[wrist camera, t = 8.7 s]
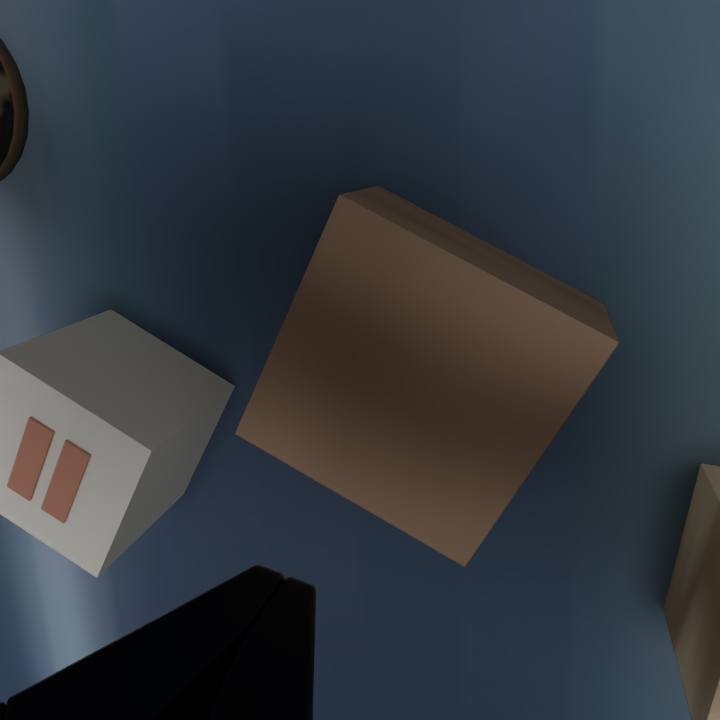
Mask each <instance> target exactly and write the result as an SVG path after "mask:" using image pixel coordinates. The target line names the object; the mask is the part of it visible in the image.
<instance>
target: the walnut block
mask: <svg viewBox="0 0 720 720" xmlns="http://www.w3.org/2000/svg"><path fill="white" fill-rule="evenodd" d="M618 344H619V341H618V338H617V335H616V333H615V330H614V327H613V325H612V322H611V320H610V317H609V314H608V312H607V309H606V306H605V304H604V303H602V302H600V301H598V300H596V299H594V298H592V297H590V296H588V295H586V294H584V293H583V292H581V291H579V290H577V289H575V288H573V287H571V286H569V285H567V284H565V283H564V282H562V281H560V280H558V279H556V278H554V277H552V276H550V275H548V274H546V273H544V272H543V271H541V270H539V269H537V268H535V267H533V266H531V265H529V264H527V263H525V262H523V261H522V260H520V259H518V258H516V257H514V256H512V255H510V254H508V253H506V252H504V251H502V250H501V249H499V248H497V247H495V246H493V245H491V244H489V243H487V242H485V241H483V240H481V239H480V238H478V237H476V236H474V235H472V234H470V233H468V232H466V231H464V230H462V229H460V228H459V227H457V226H455V225H453V224H451V223H449V222H447V221H445V220H443V219H441V218H439V217H438V216H436V215H434V214H432V213H430V212H428V211H426V210H424V209H422V208H420V207H418V206H417V205H415V204H413V203H411V202H409V201H407V200H405V199H403V198H401V197H399V196H397V195H396V194H394V193H392V192H390V191H388V190H386V189H384V188H382V187H380V186H375V187H370V188H366V189H361V190H357V191H352V192H348V193H343V194H339V196H338V198H337V201H336V203H335V205H334V208H333V210H332V212H331V214H330V217H329V219H328V221H327V224H326V226H325V228H324V231H323V233H322V235H321V237H320V240H319V242H318V244H317V247H316V249H315V251H314V253H313V256H312V258H311V260H310V263H309V265H308V267H307V270H306V272H305V274H304V276H303V279H302V281H301V283H300V286H299V288H298V290H297V293H296V295H295V297H294V299H293V302H292V304H291V306H290V309H289V311H288V313H287V316H286V318H285V320H284V322H283V325H282V327H281V329H280V332H279V334H278V336H277V338H276V341H275V343H274V345H273V348H272V350H271V352H270V355H269V357H268V359H267V361H266V364H265V366H264V368H263V371H262V373H261V375H260V378H259V380H258V382H257V384H256V387H255V389H254V391H253V394H252V396H251V398H250V401H249V403H248V405H247V407H246V410H245V412H244V414H243V417H242V419H241V421H240V423H239V426H238V428H237V430H236V433H235V434H236V435H238V436H240V437H241V438H243V439H245V440H247V441H248V442H250V443H252V444H253V445H255V446H257V447H259V448H260V449H262V450H264V451H266V452H267V453H269V454H271V455H272V456H274V457H276V458H278V459H279V460H281V461H283V462H285V463H286V464H288V465H290V466H291V467H293V468H295V469H297V470H298V471H300V472H302V473H304V474H305V475H307V476H309V477H310V478H312V479H314V480H316V481H317V482H319V483H321V484H323V485H324V486H326V487H328V488H329V489H331V490H333V491H335V492H336V493H338V494H340V495H341V496H343V497H345V498H347V499H348V500H350V501H352V502H354V503H355V504H357V505H359V506H360V507H362V508H364V509H366V510H367V511H369V512H371V513H373V514H374V515H376V516H378V517H379V518H381V519H383V520H385V521H386V522H388V523H390V524H392V525H393V526H395V527H397V528H398V529H400V530H402V531H404V532H405V533H407V534H409V535H411V536H412V537H414V538H416V539H417V540H419V541H421V542H423V543H424V544H426V545H428V546H430V547H431V548H433V549H435V550H436V551H438V552H440V553H442V554H443V555H445V556H447V557H449V558H450V559H452V560H454V561H455V562H457V563H459V564H461V565H462V566H464V567H465V566H466V565H467V563H468V562H469V560H470V559H471V557H472V556H473V554H474V553H475V551H476V550H477V549H478V547H479V546H480V544H481V543H482V541H483V540H484V538H485V537H486V535H487V534H488V533H489V531H490V530H491V528H492V527H493V525H494V524H495V522H496V521H497V519H498V518H499V517H500V515H501V514H502V512H503V511H504V509H505V508H506V506H507V505H508V504H509V502H510V501H511V499H512V498H513V496H514V495H515V493H516V492H517V490H518V489H519V488H520V486H521V485H522V483H523V482H524V480H525V479H526V477H527V476H528V474H529V473H530V472H531V470H532V469H533V467H534V466H535V464H536V463H537V461H538V460H539V458H540V457H541V456H542V454H543V453H544V451H545V450H546V448H547V447H548V445H549V444H550V442H551V441H552V440H553V438H554V437H555V435H556V434H557V432H558V431H559V429H560V428H561V426H562V425H563V424H564V422H565V421H566V419H567V418H568V416H569V415H570V413H571V412H572V410H573V409H574V408H575V406H576V405H577V403H578V402H579V400H580V399H581V397H582V396H583V395H584V393H585V392H586V390H587V389H588V387H589V386H590V384H591V383H592V381H593V380H594V379H595V377H596V376H597V374H598V373H599V371H600V370H601V368H602V367H603V365H604V364H605V363H606V361H607V360H608V358H609V357H610V355H611V354H612V352H613V351H614V349H615V348H616V347H617V345H618Z"/></svg>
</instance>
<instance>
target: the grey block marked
mask: <svg viewBox="0 0 720 720" xmlns="http://www.w3.org/2000/svg"><path fill="white" fill-rule="evenodd" d="M234 388H235V386H234V385H232V384H231V383H229V382H227V381H226V380H224V379H223V378H221V377H219V376H218V375H216V374H214V373H213V372H211V371H210V370H208V369H206V368H205V367H203V366H202V365H200V364H198V363H197V362H195V361H193V360H192V359H190V358H189V357H187V356H185V355H184V354H182V353H181V352H179V351H177V350H176V349H174V348H173V347H171V346H169V345H168V344H166V343H164V342H163V341H161V340H160V339H158V338H156V337H155V336H153V335H152V334H150V333H148V332H147V331H145V330H143V329H142V328H140V327H139V326H137V325H135V324H134V323H132V322H131V321H129V320H127V319H126V318H124V317H123V316H121V315H119V314H118V313H116V312H114V311H113V310H108V311H105V312H103V313H100V314H97V315H95V316H92V317H89V318H87V319H84V320H81V321H79V322H76V323H73V324H71V325H68V326H65V327H63V328H60V329H57V330H55V331H52V332H50V333H47V334H44V335H42V336H39V337H36V338H34V339H31V340H28V341H26V342H23V343H20V344H18V345H15V346H12V347H10V348H7V349H4V350H2V351H0V514H1V515H2V516H4V517H5V518H7V519H8V520H10V521H11V522H13V523H14V524H16V525H17V526H19V527H20V528H22V529H24V530H25V531H27V532H28V533H30V534H31V535H33V536H34V537H36V538H37V539H39V540H40V541H42V542H43V543H45V544H46V545H48V546H49V547H51V548H52V549H54V550H55V551H57V552H58V553H60V554H61V555H63V556H64V557H66V558H68V559H69V560H71V561H72V562H74V563H75V564H77V565H78V566H80V567H81V568H83V569H84V570H86V571H87V572H89V573H90V574H92V575H93V576H95V577H96V578H97V577H98V576H100V575H101V574H102V573H103V572H104V571H105V570H106V569H107V568H108V567H109V566H110V565H111V564H112V563H113V562H114V561H115V560H116V559H117V558H118V557H119V556H120V555H121V554H122V553H123V552H124V551H125V550H126V549H128V548H129V547H130V546H131V545H132V544H133V543H134V542H135V541H136V540H137V539H138V538H139V537H140V536H141V535H142V534H143V533H144V532H145V531H146V530H147V529H148V528H149V527H150V526H151V525H152V524H153V523H154V522H156V521H157V520H158V519H159V518H160V517H161V516H162V515H163V514H164V513H165V512H166V511H167V510H168V509H169V508H170V507H171V506H172V505H173V504H174V503H175V502H176V501H177V500H178V499H179V498H180V497H181V496H183V495H184V493H185V491H186V489H187V486H188V484H189V482H190V480H191V478H192V476H193V474H194V472H195V470H196V468H197V465H198V463H199V461H200V459H201V457H202V455H203V453H204V451H205V449H206V446H207V444H208V442H209V440H210V438H211V436H212V434H213V432H214V430H215V428H216V425H217V423H218V421H219V419H220V417H221V415H222V413H223V411H224V409H225V406H226V404H227V402H228V400H229V398H230V396H231V394H232V392H233V390H234Z"/></svg>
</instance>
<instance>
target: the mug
mask: <svg viewBox="0 0 720 720" xmlns="http://www.w3.org/2000/svg"><path fill="white" fill-rule="evenodd" d="M27 128H28V107H27V100H26V94H25V88H24V85H23V82H22V79H21V76H20V74H19V71H18V68H17V65H16V63H15V61H14V60H13V58H12V56H11V55H10V53H9V51H8V50H7V48H6V46H5V45H4V43H3V41H2V40H1V39H0V181H1V180H2V179H3V178H5V177H6V176H7V175H8V174H9V173H11V171H12V170H13V168H14V166H15V165H16V163H17V162H18V160H19V159H20V157H21V154H22V151H23V148H24V144H25V141H26V138H27Z"/></svg>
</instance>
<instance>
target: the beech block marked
mask: <svg viewBox="0 0 720 720" xmlns="http://www.w3.org/2000/svg"><path fill="white" fill-rule="evenodd" d="M664 612H665V616H666V620H667V624H668V628H669V632H670V636H671V640H672V644H673V648H674V651H675V655H676V659H677V663H678V667H679V671H680V675H681V679H682V683H683V687H684V691H685V695H686V698H687V702H688V706H689V710H690V714H691V718H692V720H720V466H715V465H709V464H702V463H701V465H700V469H699V473H698V477H697V480H696V484H695V488H694V492H693V496H692V500H691V504H690V508H689V512H688V515H687V519H686V523H685V527H684V531H683V535H682V539H681V543H680V546H679V550H678V554H677V558H676V562H675V566H674V570H673V574H672V578H671V581H670V585H669V589H668V593H667V597H666V601H665V605H664Z"/></svg>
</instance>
